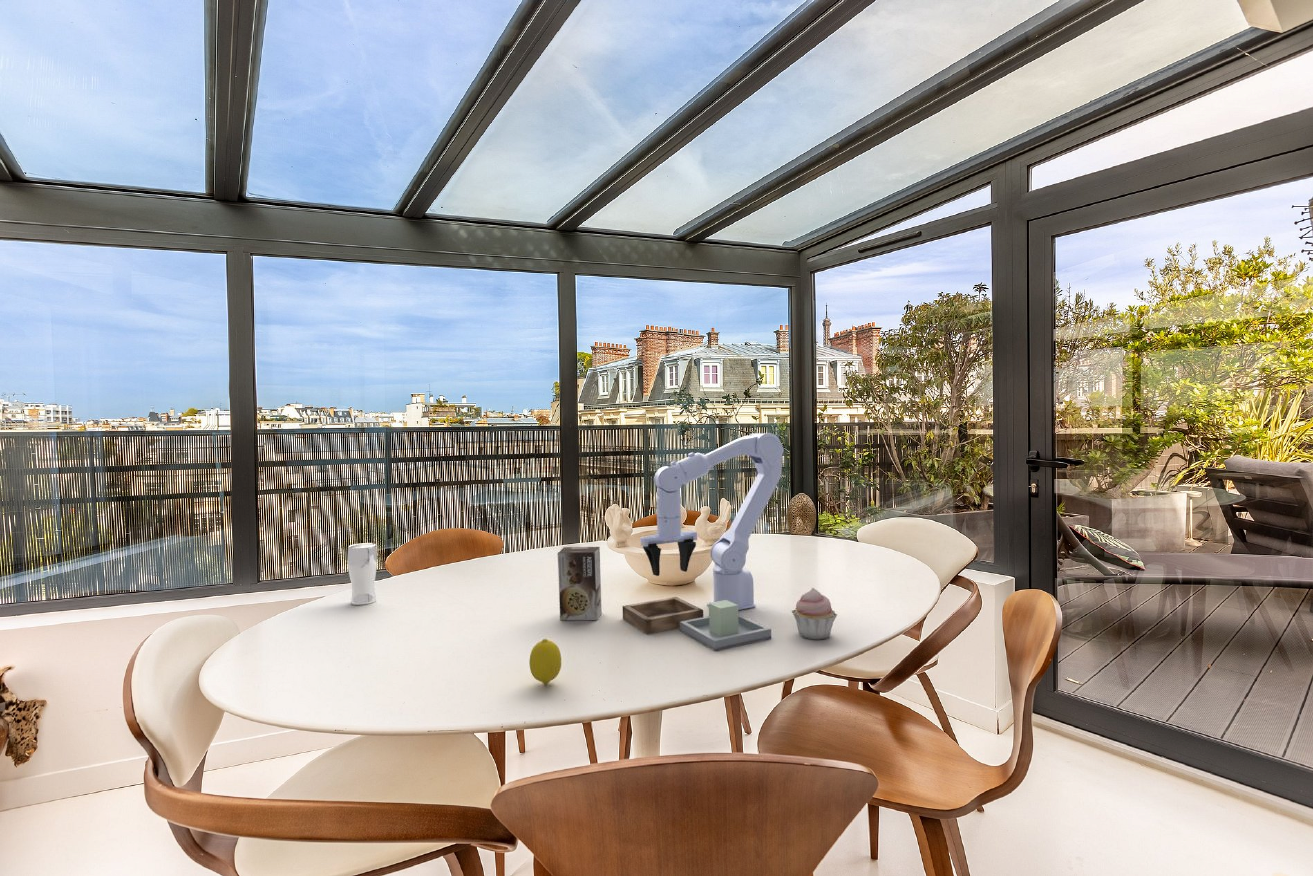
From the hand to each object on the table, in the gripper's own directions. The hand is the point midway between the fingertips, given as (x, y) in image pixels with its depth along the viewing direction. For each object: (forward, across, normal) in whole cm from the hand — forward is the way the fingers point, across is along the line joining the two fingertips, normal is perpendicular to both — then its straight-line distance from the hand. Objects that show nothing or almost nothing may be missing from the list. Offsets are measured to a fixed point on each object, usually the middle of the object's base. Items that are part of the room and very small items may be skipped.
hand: (670, 572), depth 148 cm
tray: (+9, +2, -20) cm, 22 cm away
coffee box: (+10, -20, +8) cm, 24 cm away
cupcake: (+10, +18, -30) cm, 36 cm away
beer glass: (+10, -65, +50) cm, 83 cm away
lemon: (+10, -39, -25) cm, 47 cm away
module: (+9, +2, -20) cm, 22 cm away
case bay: (+9, -5, -5) cm, 12 cm away
